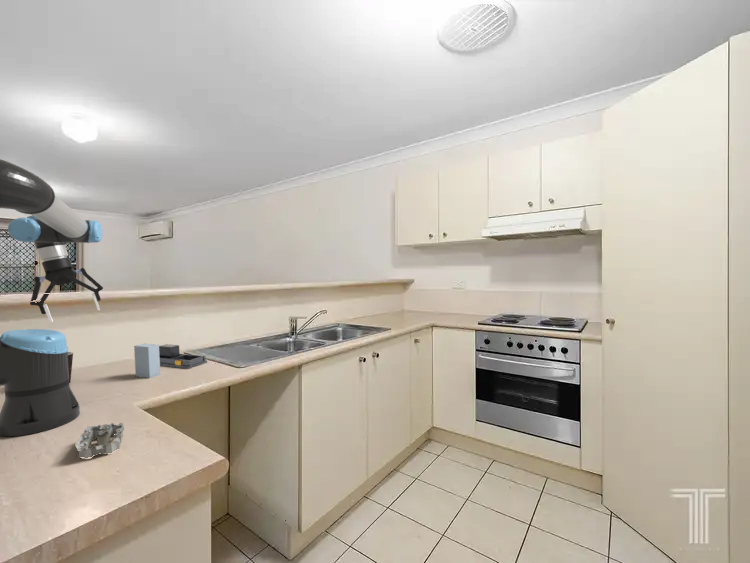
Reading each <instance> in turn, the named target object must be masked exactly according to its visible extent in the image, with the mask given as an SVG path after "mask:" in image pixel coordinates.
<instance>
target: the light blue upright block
mask: <svg viewBox="0 0 750 563" xmlns="http://www.w3.org/2000/svg"><path fill="white" fill-rule="evenodd" d="M159 346H160V345H159V344H157V343H156V344H155V343H146V342H145V343H140V344H136V345H133V347H134V369H135V377H137V376H139V378H145V377H146V379H151V377H152V378H154V377H157V376H160V375H161V366H160V357H159Z"/></svg>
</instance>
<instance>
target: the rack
mask: <svg viewBox="0 0 750 563" xmlns="http://www.w3.org/2000/svg"><path fill="white" fill-rule="evenodd" d="M159 357H160V367H168V366H169V367H170V368H177V367H178V369H179V368H180V369H185V368H186V369H188V370H189V368H190V369H192V368H195V367H198V366H201V365H204V364H207V363H208V360H206V359H207V358H206V355H197V354H187V353H180V345H179V344H172V343H171V344H169V343H165V344H162V345H159ZM186 369H185V370H186Z"/></svg>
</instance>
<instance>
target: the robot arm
mask: <svg viewBox="0 0 750 563" xmlns="http://www.w3.org/2000/svg"><path fill="white" fill-rule="evenodd" d="M0 209H8V210H15V211H16V212H18V213H21V214H25V215H29V216H27V217H17V218H15V219H13V220H11V221H10V222H9V224H8V225H7V231H8V234H9V235H10V237H11V238H12V239H14V240H15V241H19V242H23V243H33V244H34V246H35V249H36V252H37V255H38V256H39V259H40V261H42V262H41V264H42V268H43V270H44V272H45V275H44V276H35V277H34V282H35V284H34V289H33V291H32V295H31V298H30V302H29V305H30V306H38V307H39V311H40V312H41V314H42V315H46V317H47V319H48V322H49V323H50V324H51V323H54V320H53V317H52V315H51V312H50V309H49V307H48V304H47V303H46V304H45V302H46V300H47V299H48V298H49V296H50V294H51V293H52V290H53V289H54V288H55V286H63V285H67V284H71V283H72V282H73V283H75V284H76V285H78V286H81V287H84V288H85V289H87V290H89V291H91V292H93V293H92V294H91V295H92V298H93V301H94V304H95V306H96V310H97V311H101V308H100V305H99V302H100V301H101V297H100V293H99V292H101V291H103V289H104V287H103V286H102V285H101V284H100V283H99V282H97V281H96V280H95V279H94V278H93V277H92V276H90V275H89V274H88V273H87V270H86V269H85V268H84V267H81V268H79V269H74V266H73V265H72V261H71V258H69V257H68V256H69V254H68V253H69V252H68V251H67V248H66V245H65V243H71V244H72V243H75V244H76V243H83V244H86V243H87V244H92V243H94V244H95V243H100V242H101V241H102V239H103V228H102V225H101V223H100V221H97V220H92V219H91V220H90V219H88V220H87V219H84V218H83V216H82V217H81V216H80V215H79V214H78V213H77V212H76V211H74V210H73V209H72V208H71V207H70V206H68V205H67V204H66V203H65V202H64V201H63V200H61V199H60V198H59V197H57V195H56V193H55V191H54V189H53V188H52V186H51V185H50V184H49V183H48V182H47V181H45V180H44V179H42V178H41V177H39V176H38V175H37V174H34V173H33V172H32V171H29V170H27V169H25V168H23V167H21V166H18V165H17V164H14V163H12V162H10V161H7V160H3V159H1V158H0ZM77 274H79V275H80V276H81V275H83V276H84V277H85V278H86V279H87V280H89V281H90V282H91V284H93V285H94V286H95V287H97V288H94V287H93V286H91V285H88V284H86V283H85V282H83V281H81V280H80V279H78V278H76V275H77ZM45 280H47V281H48V282H50V283H49V284H48V286H47V288H46V290H45V291H44V293H50V294H44V293H43V295H42V296H41V298H40V299H39V301H40V300H41V301H40V302H39V301H36V302H37V303H35V302H31V301H33V300H36V299H37V300H38V298H39V297H38V296H39V293H40V290H41V286H42V283H44V282H45ZM44 301H45V302H44ZM68 352H69V346H68V342H67V337H66V335H65V334H64V333H63V332H61V331H58V330H54V329H39V328H36V329H35V328H34V329H33V328H31V329H29V328H28V329H15V330H8V331H4V332H2V334H1V335H0V387H4V397H5V398H4V401H3V404H2V405H1V409H0V436H2V437H18V436H26V435H32V434H36V433H40V432H45V431H47V430H52V429H54V428H57V427H60V426H63V425H65V424H68V423H70V422H73V420H75V419H77V418H78V417H79V415H80V414H81V411H80V410H81V409H80V404H79V402H78V400H77V398H76V396H75V394H74V391H73V390H72V389H71V386H70V383H69V368H68Z"/></svg>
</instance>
